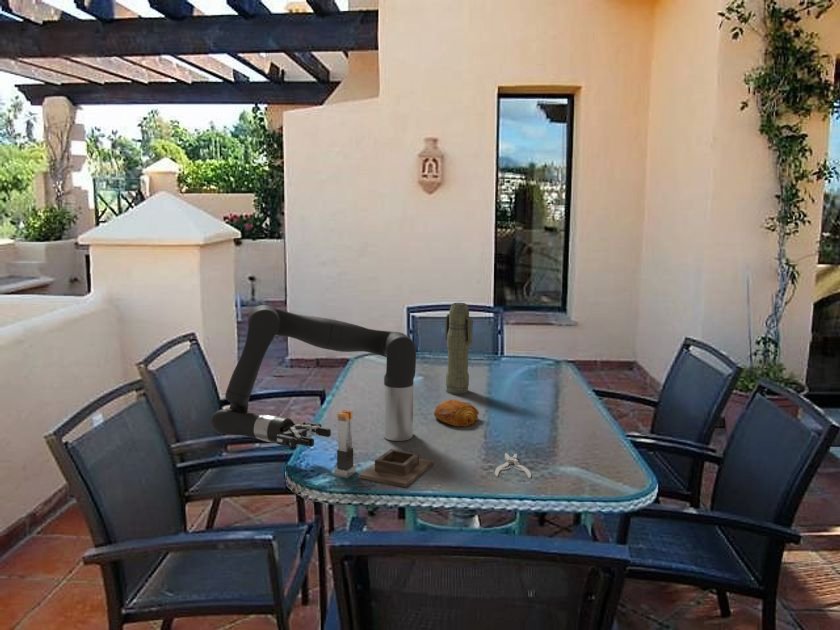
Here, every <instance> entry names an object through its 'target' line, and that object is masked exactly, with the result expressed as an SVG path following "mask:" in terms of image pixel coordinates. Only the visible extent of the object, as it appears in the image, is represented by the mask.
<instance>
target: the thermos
mask: <svg viewBox="0 0 840 630" xmlns="http://www.w3.org/2000/svg"><path fill="white" fill-rule="evenodd" d="M473 324H474V320H473V318H472V317H471V316H470V310H469V306H468V304H466V303H464V302H453V303H452V304H451V306H450V307H449V314H446V317H445V340H446V347H447V372H446V375H445V386H446V387H445V388H446V390H445V392H446V393H447V394H451V395H465V394H467V393H469V386H470V381H469V380H470V374H469V350H470V349H471V348H470V345H471V343H472V342H473V327H474V326H473Z"/></svg>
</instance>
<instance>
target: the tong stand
mask: <svg viewBox="0 0 840 630" xmlns="http://www.w3.org/2000/svg"><path fill="white" fill-rule="evenodd" d="M433 465H434V460H431V459H426V458H420V453H416V452H411V451H410V452H409V451H405V450H399V449H394V448H390V449H388V450H387V451H386V452H384V453H383V454H382V455H380V456H379V457H378V458H376V459H375V460H374V463H372V465H371V466H370V465H369V467H367V468H366V469H364V471H362V472H360V473H359V474H358V475H359V477H358V478H359V479H364V480H367V481H372V482H378V483H383V484H387V485H392V486H397V487H398V486H399V487H402V488H407V487H408V486H410V485H411V484H412V483H413V482H415V480H416V479H418V478H419V476H421V475H422V474H423V473H424V472H426V471H427V470H428V469H429V468H430V467H432V466H433Z"/></svg>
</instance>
